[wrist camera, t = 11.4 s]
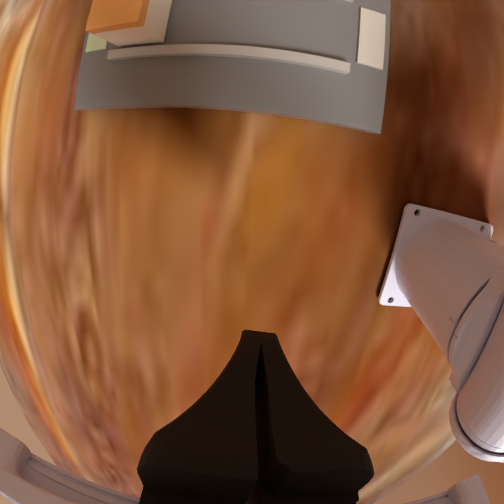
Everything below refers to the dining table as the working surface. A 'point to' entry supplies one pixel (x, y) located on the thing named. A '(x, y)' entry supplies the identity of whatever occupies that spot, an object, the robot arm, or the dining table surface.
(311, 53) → the panel
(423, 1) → the dining table surface
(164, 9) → the block
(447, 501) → the robot arm
